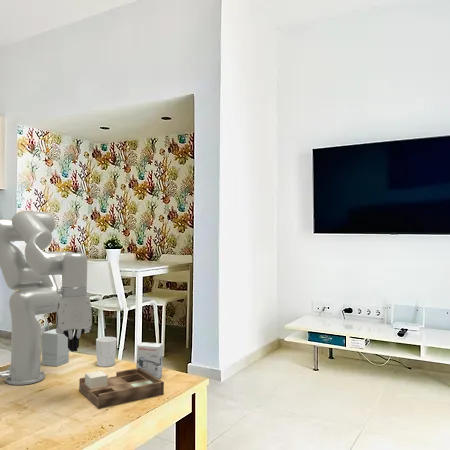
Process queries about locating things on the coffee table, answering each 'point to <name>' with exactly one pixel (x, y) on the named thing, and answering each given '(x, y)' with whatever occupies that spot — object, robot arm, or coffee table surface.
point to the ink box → (150, 358)
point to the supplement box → (54, 348)
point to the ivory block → (96, 379)
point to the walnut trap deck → (124, 388)
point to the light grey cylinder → (106, 351)
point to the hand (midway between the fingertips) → (73, 350)
